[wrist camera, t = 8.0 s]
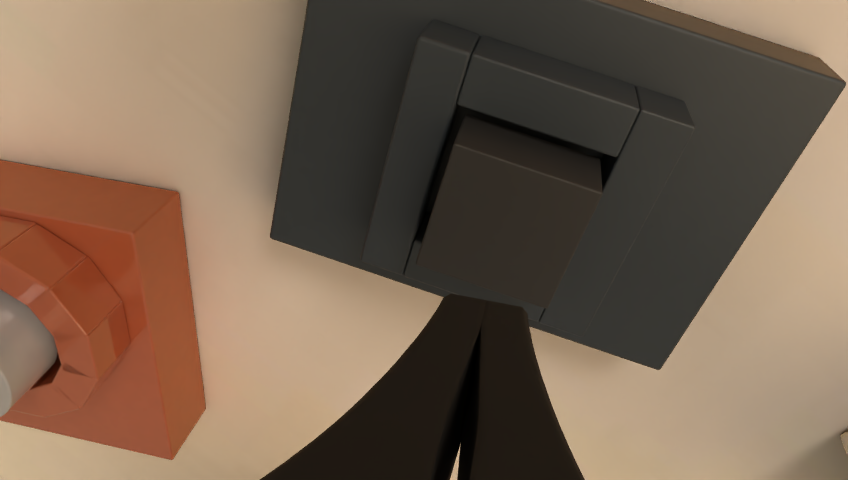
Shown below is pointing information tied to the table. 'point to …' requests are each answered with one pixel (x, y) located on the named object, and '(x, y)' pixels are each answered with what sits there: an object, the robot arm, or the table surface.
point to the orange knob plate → (103, 307)
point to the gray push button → (21, 351)
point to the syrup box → (845, 441)
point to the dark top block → (510, 211)
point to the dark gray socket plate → (555, 122)
